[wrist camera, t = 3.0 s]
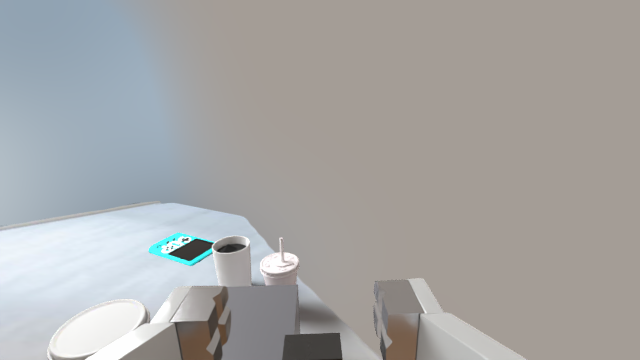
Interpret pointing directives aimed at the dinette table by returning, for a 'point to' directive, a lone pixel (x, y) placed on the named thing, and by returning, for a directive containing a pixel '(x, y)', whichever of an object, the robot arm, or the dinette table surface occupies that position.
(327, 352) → the side door
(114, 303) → the coffee cup
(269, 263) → the smoothie
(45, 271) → the dinette table surface
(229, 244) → the white cylindrical cup
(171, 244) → the handheld game console
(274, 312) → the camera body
